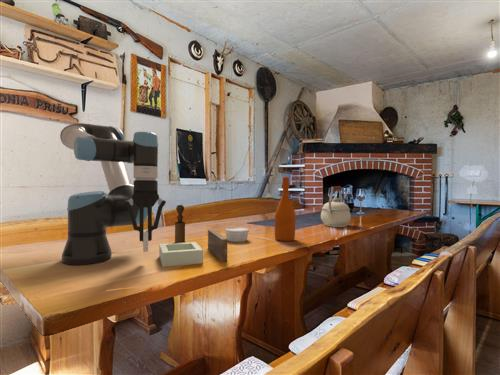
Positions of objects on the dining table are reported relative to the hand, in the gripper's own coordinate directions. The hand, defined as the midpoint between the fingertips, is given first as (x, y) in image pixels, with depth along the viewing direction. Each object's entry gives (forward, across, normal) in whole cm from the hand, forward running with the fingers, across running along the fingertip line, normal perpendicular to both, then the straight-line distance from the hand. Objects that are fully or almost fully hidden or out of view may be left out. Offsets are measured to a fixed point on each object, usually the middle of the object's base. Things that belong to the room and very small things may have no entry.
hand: (145, 250), depth 98 cm
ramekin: (+5, +41, +27) cm, 50 cm away
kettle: (+5, +114, +50) cm, 125 cm away
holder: (+4, +11, 0) cm, 12 cm away
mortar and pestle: (+5, +13, +15) cm, 21 cm away
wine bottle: (+5, +63, +21) cm, 67 cm away
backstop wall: (+4, +25, +3) cm, 26 cm away
